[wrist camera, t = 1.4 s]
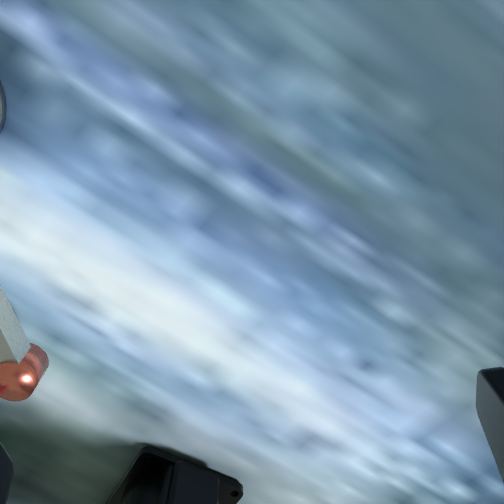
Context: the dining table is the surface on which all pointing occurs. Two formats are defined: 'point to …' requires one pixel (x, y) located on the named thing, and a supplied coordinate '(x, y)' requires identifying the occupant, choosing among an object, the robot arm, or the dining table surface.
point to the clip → (17, 357)
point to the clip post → (2, 107)
